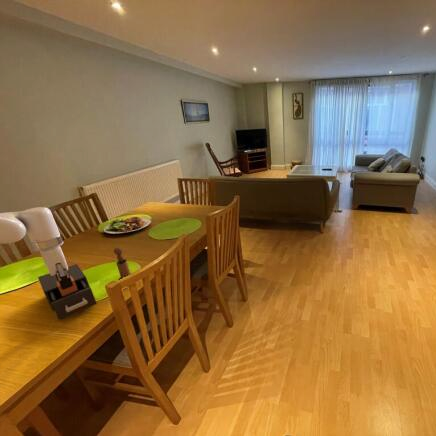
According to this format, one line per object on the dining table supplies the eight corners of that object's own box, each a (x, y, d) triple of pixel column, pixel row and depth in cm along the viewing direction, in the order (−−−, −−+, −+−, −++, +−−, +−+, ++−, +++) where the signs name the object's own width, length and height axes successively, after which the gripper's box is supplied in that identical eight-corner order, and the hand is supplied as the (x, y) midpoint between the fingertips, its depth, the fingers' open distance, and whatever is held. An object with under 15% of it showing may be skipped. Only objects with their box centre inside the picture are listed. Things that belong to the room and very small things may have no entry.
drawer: (100, 308, 93) (93, 292, 90) (61, 326, 85) (53, 309, 82) (87, 289, 104) (81, 274, 101) (52, 304, 96) (44, 288, 93)
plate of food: (94, 233, 158) (91, 224, 155) (132, 218, 182) (130, 210, 180) (125, 239, 150) (123, 230, 147) (161, 222, 174) (159, 214, 172)
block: (62, 296, 89) (58, 286, 88) (60, 291, 92) (55, 281, 90) (78, 290, 93) (74, 280, 91) (75, 285, 95) (71, 275, 94)
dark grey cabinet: (93, 294, 102) (85, 276, 98) (53, 311, 93) (43, 292, 89) (84, 281, 111) (76, 263, 107) (46, 295, 102) (37, 276, 98)
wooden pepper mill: (123, 288, 106) (112, 253, 99) (116, 283, 109) (104, 249, 102) (139, 280, 111) (129, 246, 104) (131, 276, 114) (121, 242, 108)
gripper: (29, 238, 87) (48, 280, 93) (36, 254, 77) (57, 299, 83) (57, 232, 92) (73, 271, 99) (67, 245, 82) (84, 288, 89)
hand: (66, 284), depth 91 cm, fingers open, 5 cm apart
